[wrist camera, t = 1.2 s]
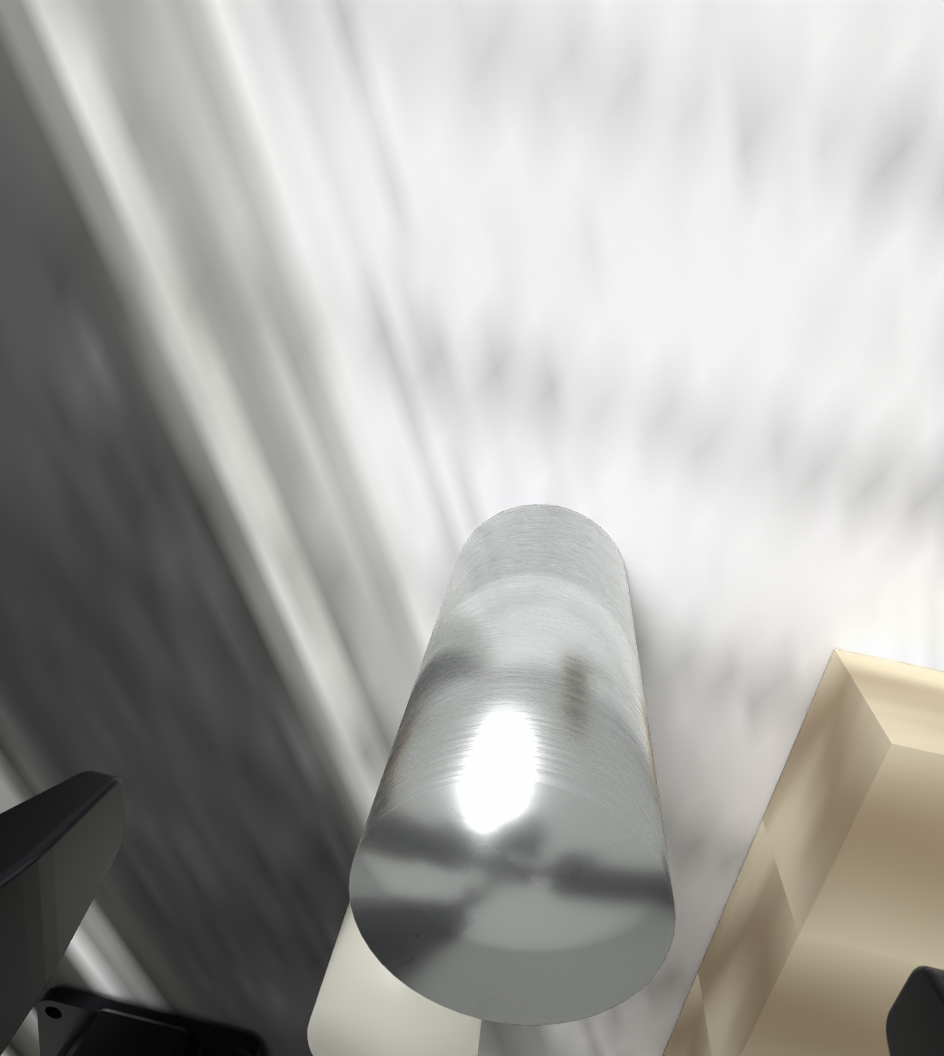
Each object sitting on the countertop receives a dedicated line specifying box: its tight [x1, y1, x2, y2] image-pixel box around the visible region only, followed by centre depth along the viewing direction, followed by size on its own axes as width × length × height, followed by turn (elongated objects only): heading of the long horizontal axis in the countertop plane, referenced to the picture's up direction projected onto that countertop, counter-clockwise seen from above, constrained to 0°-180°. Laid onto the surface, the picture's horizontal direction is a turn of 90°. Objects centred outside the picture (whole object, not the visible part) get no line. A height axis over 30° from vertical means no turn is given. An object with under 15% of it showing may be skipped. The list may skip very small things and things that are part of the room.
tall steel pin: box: [349, 504, 675, 1025], centre depth 12 cm, size 4×4×8 cm
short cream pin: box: [307, 902, 482, 1056], centre depth 17 cm, size 4×4×4 cm
